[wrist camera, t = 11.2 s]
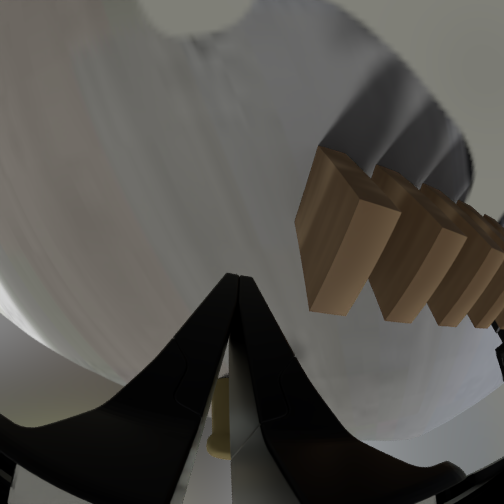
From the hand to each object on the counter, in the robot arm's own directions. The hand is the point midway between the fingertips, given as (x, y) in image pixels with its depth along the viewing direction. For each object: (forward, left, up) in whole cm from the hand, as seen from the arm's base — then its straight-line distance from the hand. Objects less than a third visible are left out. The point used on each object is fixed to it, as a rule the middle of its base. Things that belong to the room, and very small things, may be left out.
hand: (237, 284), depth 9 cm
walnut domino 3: (-13, +5, -12) cm, 18 cm away
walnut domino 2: (-9, +3, -12) cm, 15 cm away
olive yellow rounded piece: (+7, +29, -12) cm, 32 cm away
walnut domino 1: (-5, +2, -12) cm, 12 cm away
